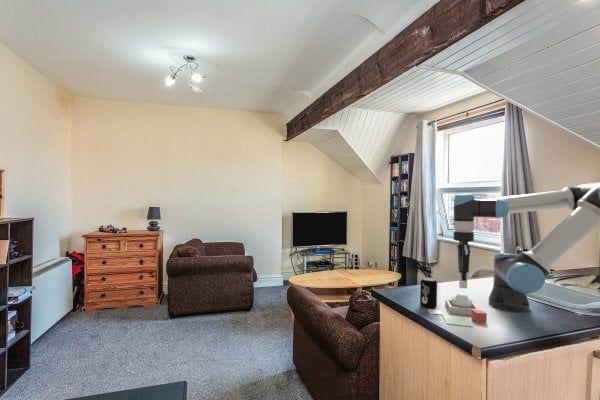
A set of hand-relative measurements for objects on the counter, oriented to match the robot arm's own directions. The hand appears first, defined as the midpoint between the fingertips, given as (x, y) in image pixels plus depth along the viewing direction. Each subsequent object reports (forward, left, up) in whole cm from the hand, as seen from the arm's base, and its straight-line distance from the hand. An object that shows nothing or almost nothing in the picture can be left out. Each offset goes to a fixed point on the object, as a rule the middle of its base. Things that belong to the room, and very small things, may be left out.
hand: (463, 287), depth 134 cm
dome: (0, 0, -8) cm, 8 cm away
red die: (-4, +11, -9) cm, 15 cm away
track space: (+11, +6, -9) cm, 16 cm away
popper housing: (0, 0, -9) cm, 9 cm away
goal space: (+4, +14, -9) cm, 17 cm away
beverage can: (+13, 0, -10) cm, 17 cm away
